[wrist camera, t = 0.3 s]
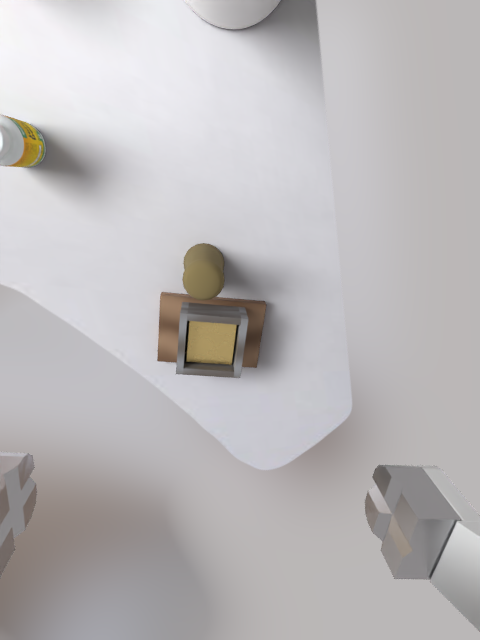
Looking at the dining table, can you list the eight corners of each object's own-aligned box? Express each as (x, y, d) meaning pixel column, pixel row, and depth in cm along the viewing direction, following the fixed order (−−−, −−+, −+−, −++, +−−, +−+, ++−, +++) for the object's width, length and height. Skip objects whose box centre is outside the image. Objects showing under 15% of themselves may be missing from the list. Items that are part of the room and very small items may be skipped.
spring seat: (190, 316, 52) (189, 319, 51) (236, 320, 53) (236, 323, 52) (186, 358, 55) (186, 361, 54) (231, 361, 55) (231, 364, 55)
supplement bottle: (-5, 149, 46) (-56, 142, 37) (13, 111, 45) (-34, 94, 36) (36, 176, 48) (-4, 175, 39) (54, 140, 46) (18, 131, 37)
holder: (161, 292, 55) (156, 306, 49) (264, 301, 57) (271, 315, 51) (158, 356, 59) (153, 377, 52) (255, 363, 61) (260, 383, 54)
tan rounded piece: (224, 243, 53) (229, 259, 43) (223, 283, 55) (227, 307, 45) (183, 242, 52) (177, 258, 42) (183, 283, 54) (178, 306, 44)
